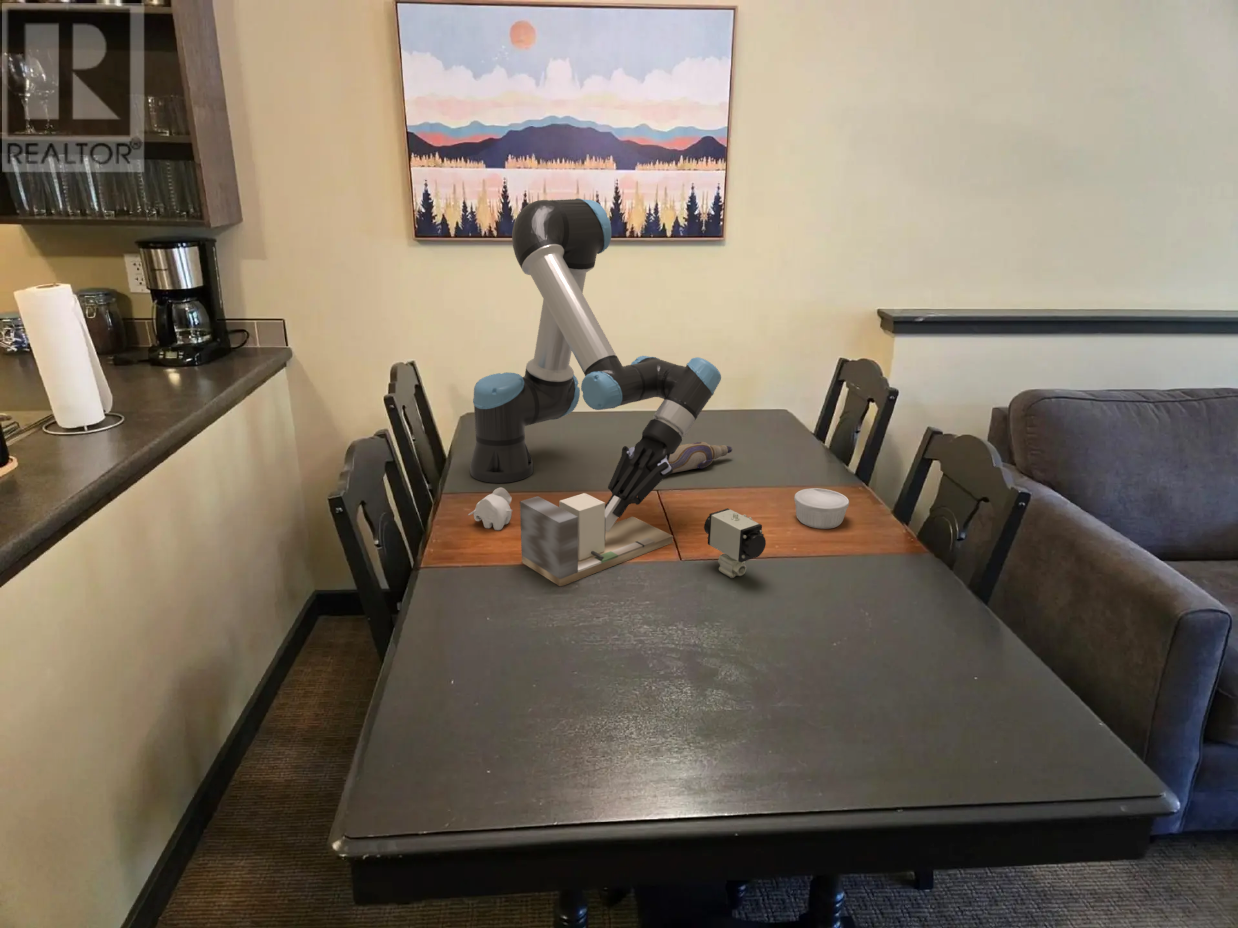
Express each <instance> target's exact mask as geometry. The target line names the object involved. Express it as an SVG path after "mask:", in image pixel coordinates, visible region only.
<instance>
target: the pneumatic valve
mask: <svg viewBox="0 0 1238 928" xmlns="http://www.w3.org/2000/svg"><path fill="white" fill-rule="evenodd" d="M703 526H704V527H703V528H704V531H705V533H706V534H707V536H706V537H707V545H708V546H711V547H712V548H713V549H715V550H718V551H719V552H721V553H722V554H719V557H718V559H717V561H718V564H719V567H718V571H719V572H721V573H722V574H723V575H725V576H727V577H729V578H730V579H733V578H735V577H737V576H738V577H741V576H743V575H744V574H745V573H746V572H747V566H746V564H745V562H747V561H749V560H752V559H756V558H758V557H760V556H761V555H762V554H763V552H764V550H765V548H766V545H767V539H766V537H765V535H764V533H763V528H762V527H763V525H762V524H761V523H758V522H756V521H755V520H753V518H752V517H751V516H747V514H741V513H739V512H737V511H735V510H733V509H730V508H724V509H721V510H719V511H715V512H711V513H709V515H708V516H707V518H706V520H705V522H704V525H703Z"/></svg>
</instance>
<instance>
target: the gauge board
mask: <svg viewBox="0 0 1238 928" xmlns="http://www.w3.org/2000/svg"><path fill="white" fill-rule="evenodd" d="M519 510H520V511H519V513H520V514H519V515H520V516H519V517H520V540H521V541H520V543H521V544H520V545H521V547H520V548H521V564H523V565H525V566H527V567H528V568H529V569H531V570H533V571H535V572H536V573H538V574H539V575H541V576H542V577H544V578H545V579H547V580H549V581H551V582H552V583H554V584H556V585H557V586H559V587H561V588H562V587H563V586H566V585H568V584H571V583H574V582H576V581H579V580H581V579H584V578H586V577H589V576H591V575H593V574H595V573H599V572H602V571H605V570H607V569H609V568H611V567H614V566H616V565H619V564H621V563H624V562H626V561H629V560H632V559H635V558H637V557H640V556H643V555H645V554H647V553H650V552H653V551H654V550H657V549H660V548H664V547H665V546H667V545H670V544H673V543H674V542H673V540H674V535H672V534H670V533H668V532H666V531H664V530H661V529H660V528H658V527H655V526H653V525H651V524H649V523H647V522H645V521H643V520H641V519H638V518H636V517H634V516H630V517H628V518H624V519H622V520H617V521H615V523H614V524H613V526H612V527H611V529H610V530H609V532H607V531H605V548H604V552H601V553H598V554H600V555H602V556H603V557H604V559H602V560H601V559H599V558H597V557H596V556H594V555H593V556H590V557H588V558H585V559H582V560H578V517H577V516H575V515H573V514H571V513H570V512H568V511H566V510H564V509H562V508H560V507H559V506H558V505H556V504H554V503H552V502H550V501H548V500H546V499H544V498H543V497H540V496H538V495H537V496H534V497H529V498H527V499H523V500H520V501H519Z"/></svg>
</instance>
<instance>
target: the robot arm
mask: <svg viewBox="0 0 1238 928" xmlns="http://www.w3.org/2000/svg"><path fill="white" fill-rule="evenodd" d="M606 211H607V210H605V208H604V206H602V205H601V204H600V203H598V201H595V200H592V199H583V198H572V199H539V200H534V201H533V202H531V203H528V204H527V205H525V207H523V208H522V209H521V211H519V213H518V214H517V216H516V219H515V221H514V222H513V227H512V232H511V233H512V234H511V237H512V239H511V241H512V248H513V251H514V252H513V253H514V255H515V256H514V257H515V258H516V260H517V263H518V265H519V266H520V268H521V270H522V272H523V273H524V274H525V275H527V276H531V277H530V278H532V280H533V282H534V284H535V286H536V288H537V290H538V291H539V293H540V295H541V297H542V304H541V305H542V306H541V312H540V319H539V325H538V331H537V338H536V343H535V350H534V356H533V358H532V359H530V360H529V361H528V362H527V363H526V366H525V370H524V371H525V372H524V375H523V376H522V375H521V374H519V373H515V372H503V373H501V372H498V373H493V374H489V375H487V376H484V377H482V378H481V379H479V380H478V381H477V382H476V383H475V385H474V387H473V399H472V403H473V407H474V408H473V409H474V413H473V414H474V429H475V430H474V431H475V445H474V449H473V452H472V457H471V459H470V461H469V462H470V463H469V472H470V473H469V474H470V476H471V477H472V478H473V479H475V480H477V481H481V482H484V483H485V482H486V483H491V484H492V483H495V484H504V483H515V482H518V481H521V480H524V479H527V478H529V477H530V476H531V475H532V474H533V473H534V462H533V458H532V456H531V453H530V450H529V448H528V445H527V443H526V434H525V433H526V431H525V430H526V429H525V428H526V427H527V426H531V425H535V424H539V423H543V422H547V421H552V420H558V419H561V418H562V417H565V416H568V415H570V414H571V413H572V412H573V411H574V410H575V409H576V407H577V406H578V404H579V401H580V395H581V392H582V398H583V400H584V402H585V404H586V405H587V406H588V407H590V408H591V409H593V410H595V411H601V410H610V409H611V410H612V409H615V408H617V407H620V406H624V405H627V404H631V403H637V402H641V401H645V400H649V399H653V398H659V399H662V402H661V404H660V405H659V406H658V408H657V409H656V411H655V412H654V414H653V415H652V416H653V417H652V419H650V420H649V421H648V422H647V425H646V426H645V428H644V429H643V430H642V432H641V435H642V436H641V439H640V440H639V441H638V442H636V444H635V445H634V446H632V447H628V446H627V445H625V446H623V447H622V449H621V456H620V458H619V461H618V463H617V465H616V468H615V470H614V472H613V474H612V477H611V478H610V481H609V484H608V486H607V489H608V490H609V491H610V492H611V496H610V498H609V499H608V501H607V502H606V503H605V531H607V532H609V530H610V529H611V527H612V526H613V524H614V523H616V522H617V521H618V519H619V518H621V517H622V516H623V515H624V513H625V511H626V510H627V508H628V507H629V506H630V505H632V504H633V505H634V504H635V506H639V505H640V504H641V503H642V502H643V501H644V500H645V499H646V498H647V497H648V496H649V495H650V493H652V491H653V490H654V489H655V488H656V487H658V485H659V484H660V482H662V480H663V479H664V478H666V477H668V476H669V475H671V474H673V473H672V472H673V469H672V467H671V466H670V465H669V463H668V460H669V458H670V454H674V453H675V451H676V450H677V448H678V447H679V445H681V443H682V441H683V438H684V437H686V435H687V434H688V433H689V431H690V430H691V428H692V426H693V425H694V423H695V422H696V420H697V418H698V416H699V415H700V414H701V412H702V410H703V409H704V408H705V406H706V405H707V403H708V402H709V400H710V399H711V398H712V396H714V395H715V392H716V389H717V388H718V386H719V385H720V383H721V381H722V374H721V372H720V371H719V370H718V367H716V366H715V365H714V364H713V363H711V362H710V361H708V360H706V359H705V358H701V357H692V358H691V359H690V360H689V362H687V363H686V366H685V365H679V364H676V363H673V362H669V361H667V360H663V359H661V358H658V357H655V356H649V355H648V356H647V355H640V356H638V357H636V359H634V360H633V361H632V362H631V364H627V365H622V363H621V360H620V359H619V357H618V356H617V355H616V352H615V350H614V349H613V347H612V345H611V343H610V341H609V340H608V337H607V336H606V334H605V332H604V330H603V328H602V327H601V325H600V324H599V322H598V320H597V319H598V318H596V316H595V314H594V312H593V310H592V308H591V307H590V304H589V303H588V300H587V299H586V298H585V296H584V294H583V293H584V287H585V282H586V276H587V273H588V272H590V271H591V270H593V269H594V268H595V265H596V259H597V256H598V255H599V254H602V253H604V252H605V250H607V249H608V247H609V245H610V244H611V241H612V226H611V220H610V218H609V217H608V213H607V212H606ZM597 254H598V255H597ZM572 354H573V356H574V358H575V359H576V361H577V363H578V365H579V366H580V369H581V371H582V373H583V374H584V377H583V379H582V381H581V386H580V387H579V386H578V385H579V381H578V379H577V376H576V375H575V372H574V370H573V368H572V367H571V365H570V362H571V356H572ZM580 388H581V389H580ZM580 390H581V391H580Z"/></svg>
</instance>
